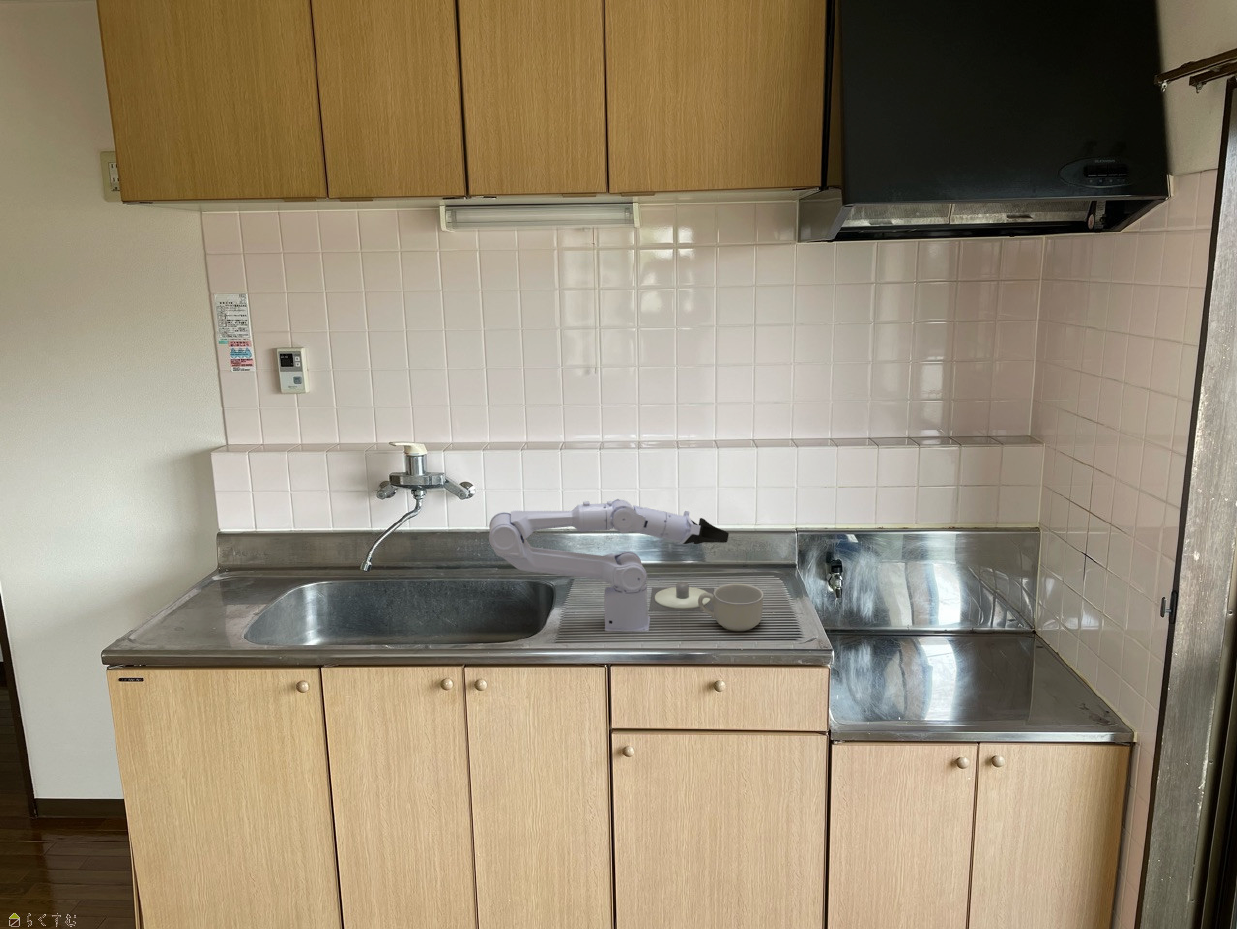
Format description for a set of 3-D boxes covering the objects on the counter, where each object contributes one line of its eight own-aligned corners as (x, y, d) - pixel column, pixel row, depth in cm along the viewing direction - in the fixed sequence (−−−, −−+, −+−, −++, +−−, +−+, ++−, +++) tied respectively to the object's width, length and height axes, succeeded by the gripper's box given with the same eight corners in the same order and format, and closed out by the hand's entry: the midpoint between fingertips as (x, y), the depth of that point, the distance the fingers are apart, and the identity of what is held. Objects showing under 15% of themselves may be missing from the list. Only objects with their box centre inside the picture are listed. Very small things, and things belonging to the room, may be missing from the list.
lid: (653, 609, 209) (653, 594, 208) (656, 589, 222) (655, 574, 221) (710, 609, 208) (710, 594, 207) (710, 589, 221) (710, 575, 220)
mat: (649, 612, 208) (649, 610, 208) (652, 589, 223) (652, 587, 223) (715, 612, 207) (715, 611, 207) (714, 589, 222) (714, 587, 221)
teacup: (766, 619, 202) (766, 585, 201) (759, 639, 192) (759, 603, 191) (704, 614, 206) (704, 580, 205) (694, 633, 196) (693, 597, 195)
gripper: (674, 505, 191) (736, 519, 193) (658, 507, 205) (715, 520, 207) (668, 538, 190) (729, 552, 192) (652, 538, 204) (709, 551, 206)
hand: (722, 537), depth 199 cm, fingers open, 7 cm apart
